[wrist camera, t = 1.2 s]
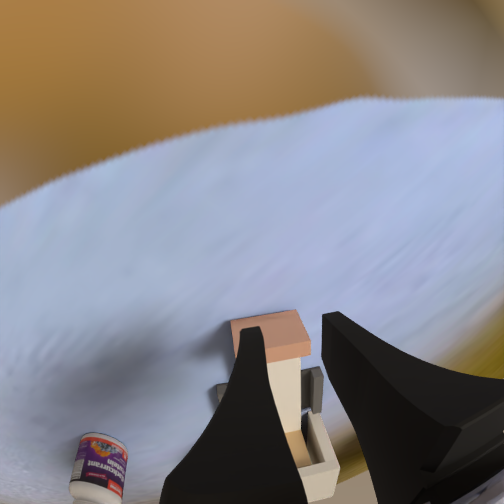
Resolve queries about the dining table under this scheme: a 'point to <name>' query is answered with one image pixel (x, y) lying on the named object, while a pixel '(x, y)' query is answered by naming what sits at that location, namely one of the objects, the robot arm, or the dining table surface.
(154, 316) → the dining table surface
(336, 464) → the tunnel
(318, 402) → the pit tray
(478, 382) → the robot arm
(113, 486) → the pill bottle
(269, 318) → the sled
